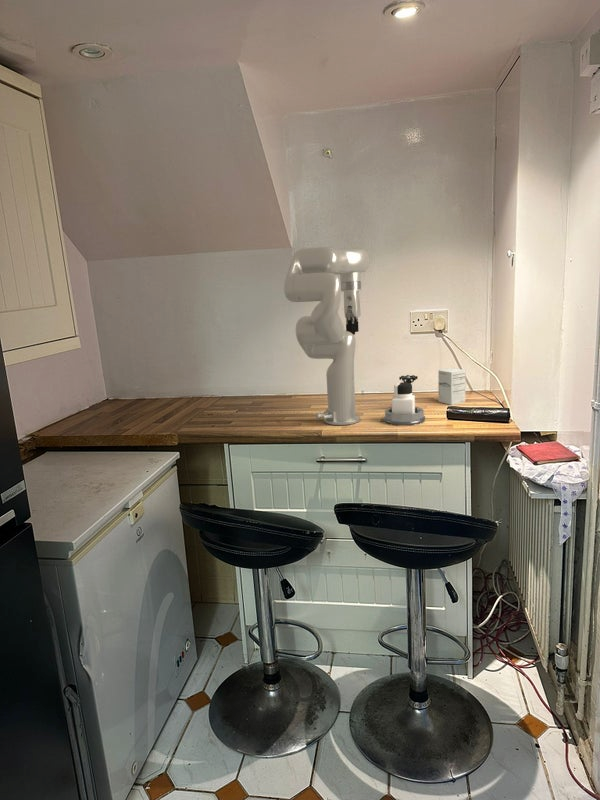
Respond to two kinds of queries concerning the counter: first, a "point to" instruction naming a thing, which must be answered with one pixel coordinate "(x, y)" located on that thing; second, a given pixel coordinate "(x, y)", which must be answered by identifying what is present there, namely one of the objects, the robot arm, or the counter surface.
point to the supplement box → (452, 386)
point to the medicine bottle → (403, 399)
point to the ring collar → (404, 417)
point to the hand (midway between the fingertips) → (352, 333)
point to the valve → (408, 379)
